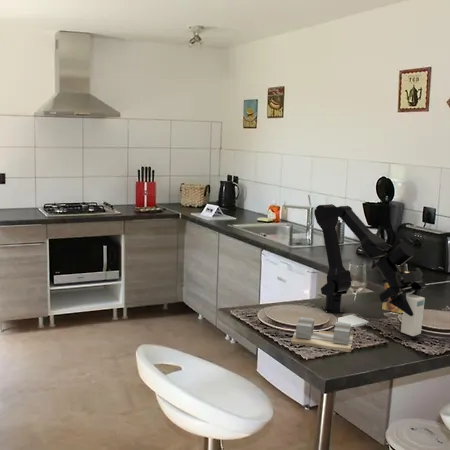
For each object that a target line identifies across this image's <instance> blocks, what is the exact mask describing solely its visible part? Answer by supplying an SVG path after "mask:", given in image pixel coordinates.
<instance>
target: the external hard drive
mask: <svg viewBox="0 0 450 450" xmlns="http://www.w3.org/2000/svg"><path fill="white" fill-rule="evenodd" d="M337 318H338V322H341V323H349V324H351V327H354V328H357V327H362V326H366V325H368V324H369V320H366V319H364V318H361V317H359V316H356V315H353V314H349V315H345V316H340V317H337ZM367 323H368V324H367ZM365 324H366V325H365Z"/></svg>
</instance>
